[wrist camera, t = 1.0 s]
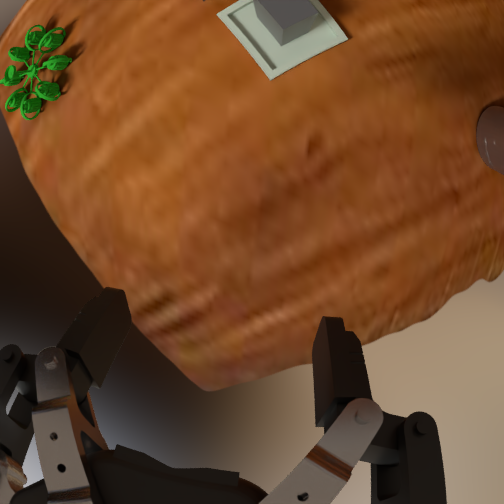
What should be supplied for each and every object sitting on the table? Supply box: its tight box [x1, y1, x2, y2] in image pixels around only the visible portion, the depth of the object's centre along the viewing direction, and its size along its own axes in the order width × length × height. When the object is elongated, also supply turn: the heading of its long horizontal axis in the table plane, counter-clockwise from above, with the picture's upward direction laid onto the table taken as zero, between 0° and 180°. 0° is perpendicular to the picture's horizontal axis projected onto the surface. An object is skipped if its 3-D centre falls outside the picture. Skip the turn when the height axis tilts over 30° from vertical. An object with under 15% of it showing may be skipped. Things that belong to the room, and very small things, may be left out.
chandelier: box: [0, 25, 72, 120], centre depth 22 cm, size 15×15×7 cm
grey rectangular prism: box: [253, 0, 319, 46], centre depth 19 cm, size 4×4×8 cm
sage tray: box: [217, 0, 348, 81], centre depth 22 cm, size 10×10×1 cm
